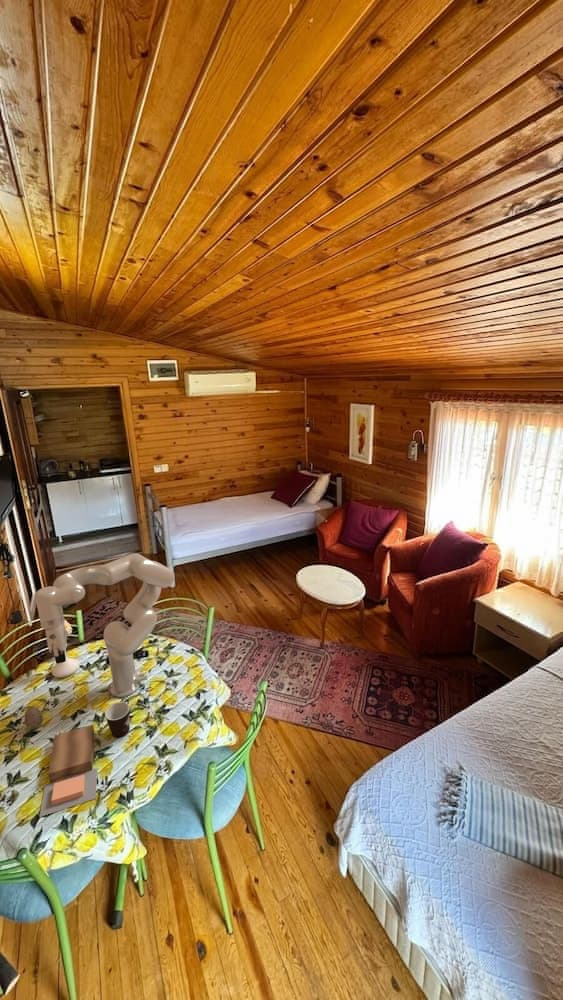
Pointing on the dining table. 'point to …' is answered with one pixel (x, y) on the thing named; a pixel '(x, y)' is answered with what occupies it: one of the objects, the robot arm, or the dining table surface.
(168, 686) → the dining table surface
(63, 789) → the salmon orange flat block
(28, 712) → the decorative egg
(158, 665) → the dining table surface
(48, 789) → the mat
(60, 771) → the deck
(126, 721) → the coffee mug
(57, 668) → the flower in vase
